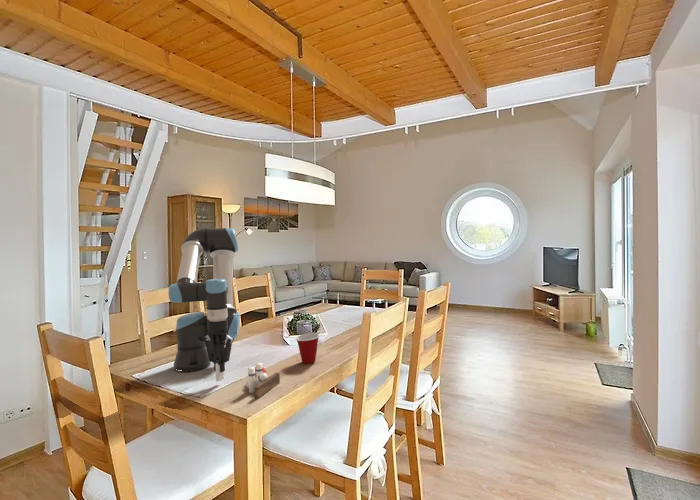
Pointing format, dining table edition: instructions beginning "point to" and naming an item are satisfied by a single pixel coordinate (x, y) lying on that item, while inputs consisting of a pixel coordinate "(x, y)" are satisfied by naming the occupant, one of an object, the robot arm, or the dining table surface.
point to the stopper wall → (267, 385)
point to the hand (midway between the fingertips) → (219, 379)
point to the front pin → (258, 379)
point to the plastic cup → (308, 347)
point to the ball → (262, 371)
